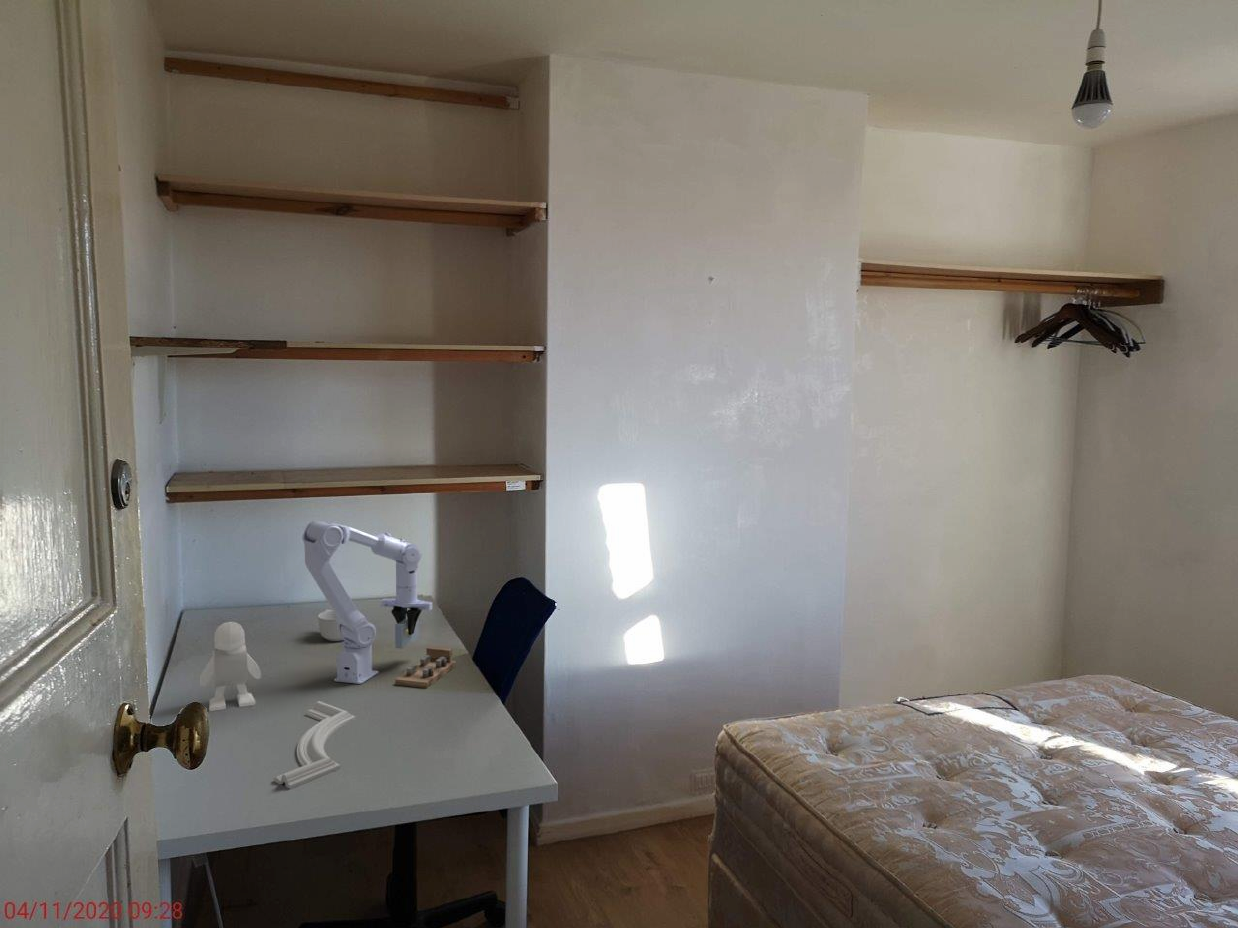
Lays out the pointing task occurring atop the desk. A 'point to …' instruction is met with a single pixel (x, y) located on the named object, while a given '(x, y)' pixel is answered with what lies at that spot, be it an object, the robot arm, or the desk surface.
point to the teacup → (329, 625)
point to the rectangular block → (404, 634)
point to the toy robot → (230, 666)
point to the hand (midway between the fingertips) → (407, 633)
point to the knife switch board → (428, 668)
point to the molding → (316, 746)
